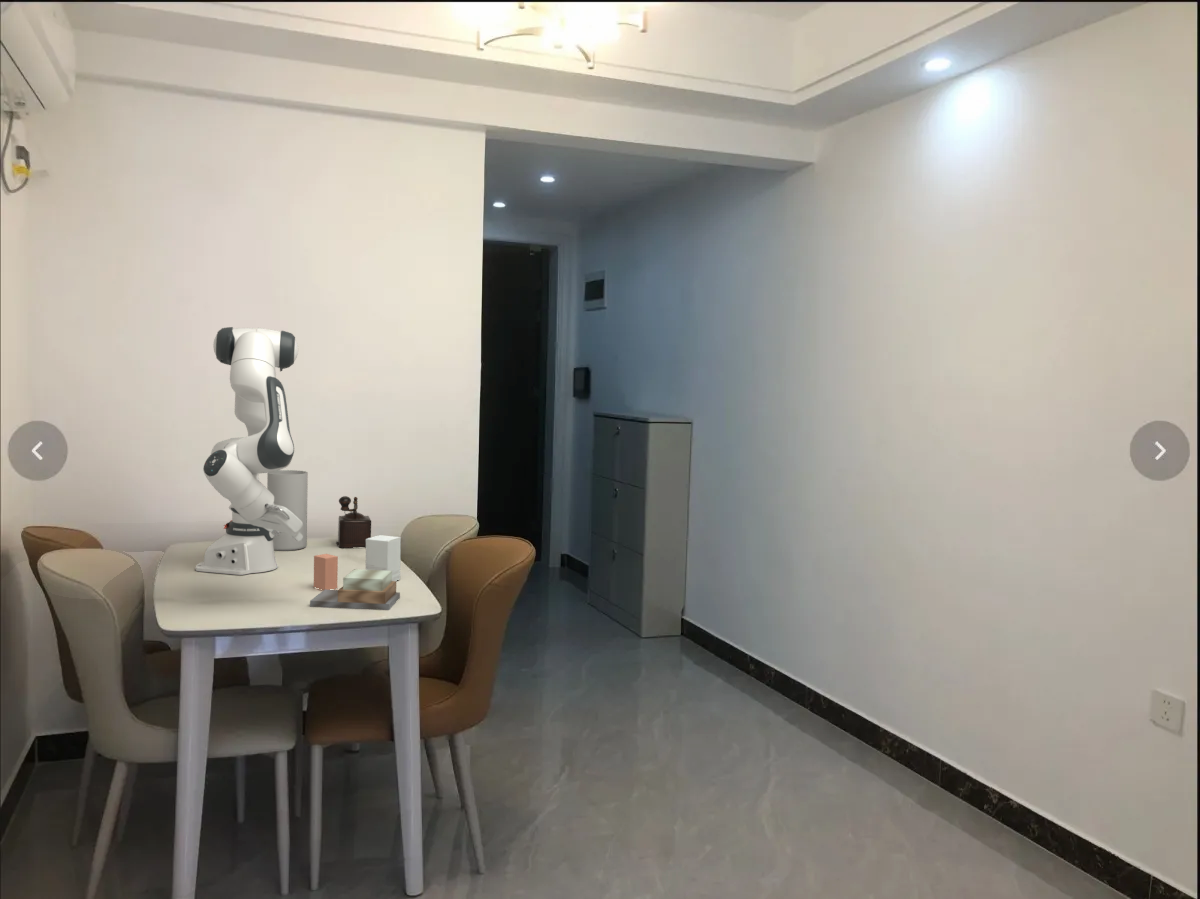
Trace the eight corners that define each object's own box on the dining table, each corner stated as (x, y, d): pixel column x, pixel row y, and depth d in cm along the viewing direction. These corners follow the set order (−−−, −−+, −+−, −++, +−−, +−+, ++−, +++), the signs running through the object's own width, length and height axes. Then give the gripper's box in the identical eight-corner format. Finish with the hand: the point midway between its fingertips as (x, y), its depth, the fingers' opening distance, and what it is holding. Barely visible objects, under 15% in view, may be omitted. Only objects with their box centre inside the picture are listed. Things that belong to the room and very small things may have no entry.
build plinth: (309, 606, 229) (310, 577, 228) (324, 594, 241) (325, 567, 240) (388, 609, 229) (389, 580, 228) (399, 598, 241) (400, 570, 240)
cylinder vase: (284, 552, 291) (285, 475, 289) (258, 547, 298) (259, 472, 295) (314, 547, 302) (315, 472, 300) (288, 542, 308) (289, 469, 306)
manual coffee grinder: (335, 542, 311) (336, 490, 310) (368, 541, 315) (369, 490, 313) (337, 551, 296) (338, 497, 295) (372, 550, 300) (373, 497, 299)
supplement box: (401, 580, 261) (401, 536, 260) (386, 585, 254) (387, 540, 253) (378, 577, 263) (379, 534, 262) (364, 582, 256) (365, 538, 255)
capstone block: (325, 591, 245) (325, 558, 244) (313, 588, 248) (314, 555, 247) (337, 588, 248) (337, 556, 247) (325, 585, 251) (326, 553, 250)
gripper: (287, 497, 224) (320, 532, 233) (240, 488, 236) (273, 521, 245) (271, 517, 221) (305, 551, 229) (224, 507, 233) (258, 540, 241)
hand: (288, 536), depth 237 cm, fingers open, 8 cm apart
